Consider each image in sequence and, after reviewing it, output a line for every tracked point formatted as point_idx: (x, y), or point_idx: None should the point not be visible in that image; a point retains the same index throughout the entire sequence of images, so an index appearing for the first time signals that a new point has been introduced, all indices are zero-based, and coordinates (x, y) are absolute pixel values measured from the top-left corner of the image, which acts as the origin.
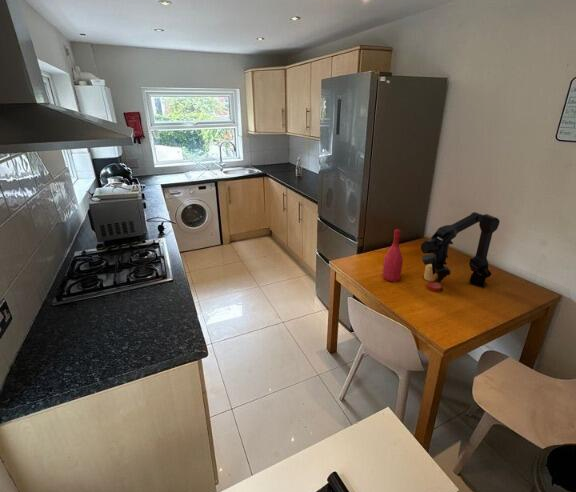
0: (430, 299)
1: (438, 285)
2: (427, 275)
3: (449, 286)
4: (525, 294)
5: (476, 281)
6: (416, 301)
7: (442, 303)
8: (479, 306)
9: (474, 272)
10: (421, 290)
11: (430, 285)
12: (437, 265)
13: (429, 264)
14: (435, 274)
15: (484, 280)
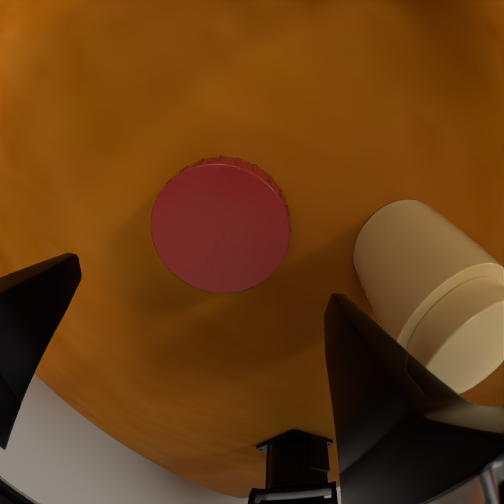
0: (48, 129)
1: (214, 269)
2: (401, 232)
3: (262, 346)
4: (222, 479)
5: (279, 454)
6: (30, 31)
7: (29, 203)
8: (82, 370)
9: (308, 484)
10: (168, 75)
11: (204, 183)
12: (355, 461)
13: (501, 331)
14: (377, 319)
15: (266, 473)
